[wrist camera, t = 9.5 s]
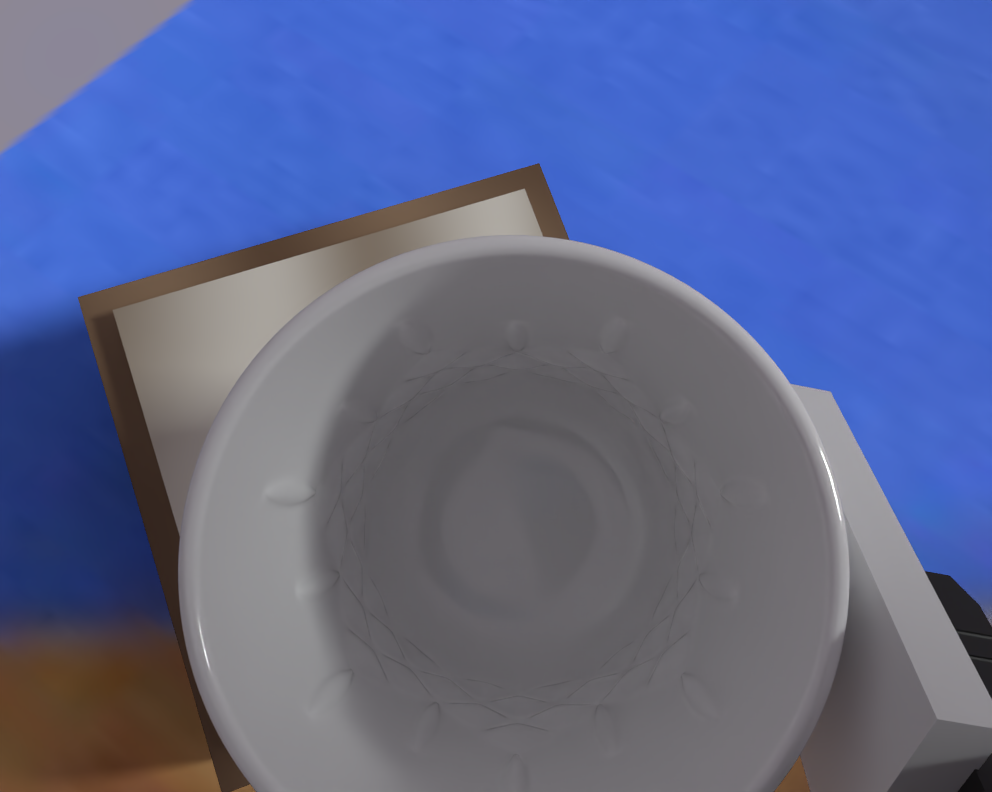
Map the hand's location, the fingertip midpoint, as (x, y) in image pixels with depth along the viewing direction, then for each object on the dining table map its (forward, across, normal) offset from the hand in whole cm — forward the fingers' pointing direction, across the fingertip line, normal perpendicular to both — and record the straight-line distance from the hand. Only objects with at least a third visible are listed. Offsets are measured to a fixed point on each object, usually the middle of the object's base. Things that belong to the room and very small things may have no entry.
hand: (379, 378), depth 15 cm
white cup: (+3, +3, -5) cm, 7 cm away
